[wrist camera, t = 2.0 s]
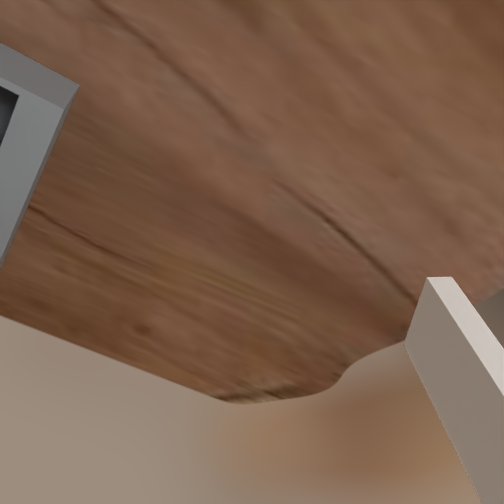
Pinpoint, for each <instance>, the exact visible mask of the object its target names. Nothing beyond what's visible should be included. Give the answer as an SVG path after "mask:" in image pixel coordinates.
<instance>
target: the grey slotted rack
mask: <svg viewBox="0 0 504 504" xmlns="http://www.w3.org/2000/svg"><path fill="white" fill-rule="evenodd" d="M79 86H80V85H79V84H77V83H75V82H73V81H71V80H69V79H67V78H66V77H64V76H62V75H60V74H58V73H56V72H54V71H52V70H51V69H49V68H47V67H45V66H43V65H41V64H39V63H37V62H36V61H34V60H32V59H30V58H28V57H26V56H24V55H23V54H21V53H19V52H17V51H15V50H13V49H11V48H9V47H8V46H6V45H4V44H2V43H0V269H1V267H2V265H3V263H4V260H5V258H6V256H7V253H8V251H9V249H10V246H11V244H12V242H13V239H14V237H15V235H16V232H17V230H18V228H19V225H20V223H21V221H22V218H23V216H24V214H25V211H26V209H27V207H28V204H29V202H30V200H31V197H32V195H33V193H34V190H35V188H36V186H37V183H38V181H39V179H40V176H41V174H42V172H43V169H44V167H45V165H46V162H47V160H48V158H49V155H50V153H51V151H52V149H53V146H54V144H55V142H56V139H57V137H58V135H59V132H60V130H61V128H62V125H63V123H64V121H65V118H66V116H67V114H68V111H69V109H70V107H71V104H72V102H73V100H74V97H75V95H76V93H77V90H78V88H79Z"/></svg>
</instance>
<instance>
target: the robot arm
mask: <svg viewBox="0 0 504 504" xmlns="http://www.w3.org/2000/svg"><path fill="white" fill-rule="evenodd" d="M404 347H405V349H406V351H407V353H408V355H409V357H410V359H411V361H412V363H413V365H414V367H415V369H416V371H417V373H418V376H419V378H420V380H421V381H422V384H423V386H424V388H425V390H426V392H427V394H428V396H429V398H430V400H431V402H432V404H433V406H434V408H435V410H436V412H437V414H438V416H439V418H440V420H441V422H442V424H443V426H444V428H445V430H446V432H447V434H448V436H449V438H450V440H451V442H452V445H453V447H454V449H455V451H456V453H457V455H458V457H459V459H460V461H461V463H462V465H463V467H464V469H465V471H466V473H467V475H468V477H469V479H470V481H471V483H472V485H473V487H474V489H475V491H476V493H477V495H478V497H479V499H480V501H481V504H504V349H503V347H502V346H501V345H500V343H499V342H498V341H497V339H496V338H495V336H494V335H493V334H492V332H491V331H490V330H489V328H488V326H487V325H486V324H485V322H484V321H483V320H482V318H481V317H480V315H479V314H478V313H477V311H476V310H475V308H474V307H473V306H472V304H471V303H470V301H469V300H468V299H467V297H466V296H465V294H464V293H463V292H462V290H461V289H460V287H459V286H458V285H457V283H456V282H455V281H454V279H453V278H452V277H427V278H426V281H425V284H424V287H423V290H422V293H421V296H420V298H419V301H418V304H417V307H416V310H415V313H414V316H413V319H412V322H411V325H410V327H409V330H408V333H407V336H406V339H405V342H404Z"/></svg>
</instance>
